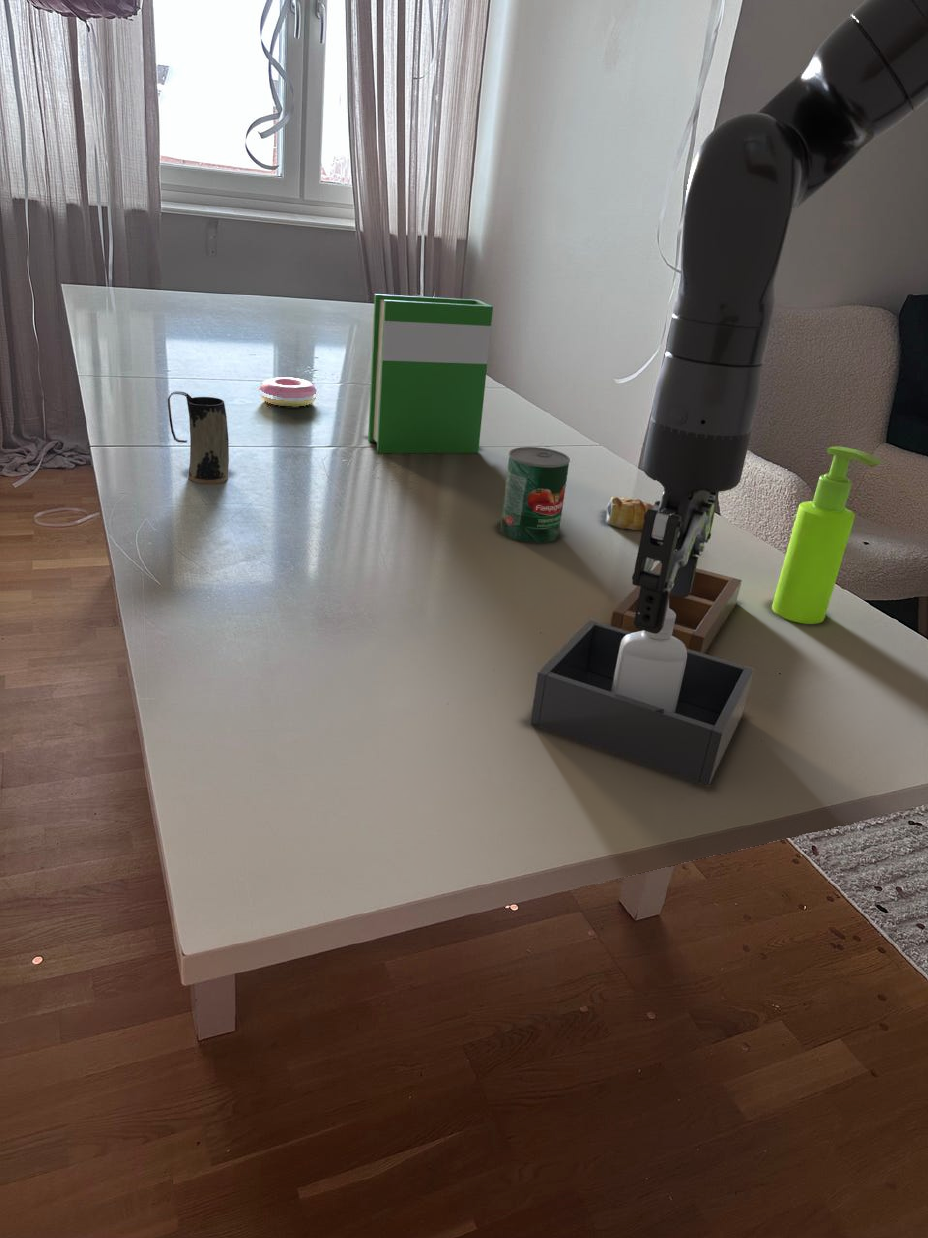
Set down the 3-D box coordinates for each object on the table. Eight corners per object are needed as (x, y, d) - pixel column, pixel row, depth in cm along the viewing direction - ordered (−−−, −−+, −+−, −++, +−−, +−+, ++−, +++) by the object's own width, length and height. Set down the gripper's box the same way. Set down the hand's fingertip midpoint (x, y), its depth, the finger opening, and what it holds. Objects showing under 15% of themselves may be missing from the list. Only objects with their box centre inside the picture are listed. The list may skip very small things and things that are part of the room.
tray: (735, 607, 105) (742, 579, 103) (696, 668, 90) (704, 637, 89) (656, 585, 108) (661, 558, 107) (607, 640, 94) (612, 611, 92)
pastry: (666, 521, 130) (672, 496, 128) (673, 538, 124) (679, 512, 122) (602, 514, 130) (607, 489, 129) (606, 531, 124) (611, 505, 122)
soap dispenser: (816, 636, 100) (868, 461, 91) (761, 612, 104) (806, 444, 95) (840, 623, 103) (893, 454, 95) (786, 601, 108) (832, 438, 99)
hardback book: (377, 452, 148) (385, 300, 137) (368, 440, 154) (374, 293, 144) (478, 452, 154) (493, 306, 143) (464, 440, 160) (478, 299, 149)
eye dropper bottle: (658, 742, 76) (686, 616, 71) (599, 717, 79) (622, 594, 74) (678, 721, 79) (706, 599, 74) (621, 698, 82) (644, 579, 77)
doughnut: (326, 408, 172) (326, 386, 170) (271, 410, 166) (271, 388, 164) (303, 394, 180) (303, 373, 178) (250, 396, 174) (250, 375, 172)
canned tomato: (546, 551, 115) (558, 468, 110) (490, 537, 118) (499, 456, 113) (566, 533, 122) (578, 454, 117) (512, 520, 124) (522, 443, 120)
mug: (231, 472, 132) (229, 390, 126) (227, 484, 127) (225, 399, 122) (175, 470, 131) (171, 387, 125) (169, 481, 126) (164, 396, 120)
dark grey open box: (740, 721, 82) (754, 668, 79) (706, 792, 71) (722, 733, 69) (580, 670, 88) (589, 619, 85) (529, 728, 77) (537, 672, 75)
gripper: (729, 447, 60) (683, 657, 67) (769, 411, 72) (727, 594, 79) (624, 426, 63) (590, 630, 70) (678, 395, 75) (645, 572, 82)
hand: (662, 611), depth 75 cm, fingers open, 8 cm apart
